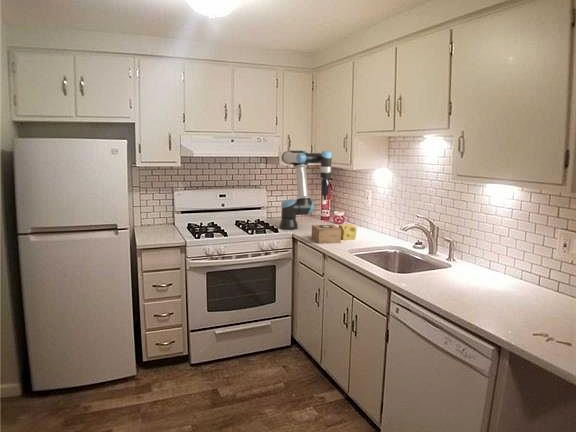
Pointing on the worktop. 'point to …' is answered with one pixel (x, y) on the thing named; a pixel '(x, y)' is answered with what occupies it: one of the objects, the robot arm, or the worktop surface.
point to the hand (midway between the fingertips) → (324, 203)
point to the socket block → (326, 234)
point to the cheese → (348, 232)
